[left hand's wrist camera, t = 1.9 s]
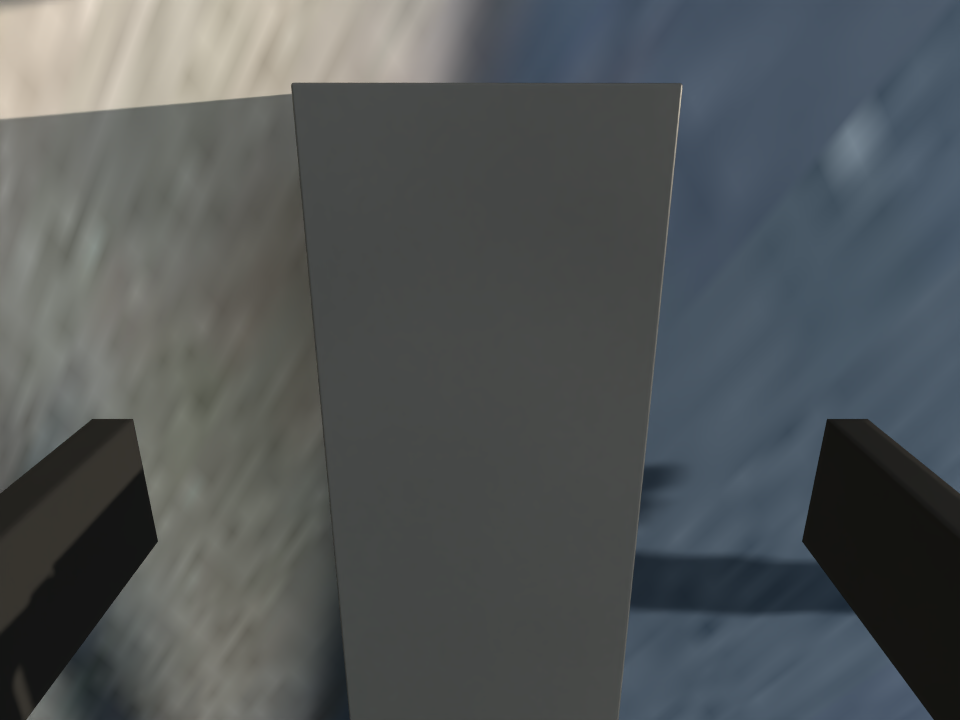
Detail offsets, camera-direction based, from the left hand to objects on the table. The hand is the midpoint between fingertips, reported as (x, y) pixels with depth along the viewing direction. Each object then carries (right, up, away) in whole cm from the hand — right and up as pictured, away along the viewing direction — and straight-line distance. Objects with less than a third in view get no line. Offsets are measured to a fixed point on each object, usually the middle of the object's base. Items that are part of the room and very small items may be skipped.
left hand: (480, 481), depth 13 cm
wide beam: (0, -18, +21) cm, 27 cm away
